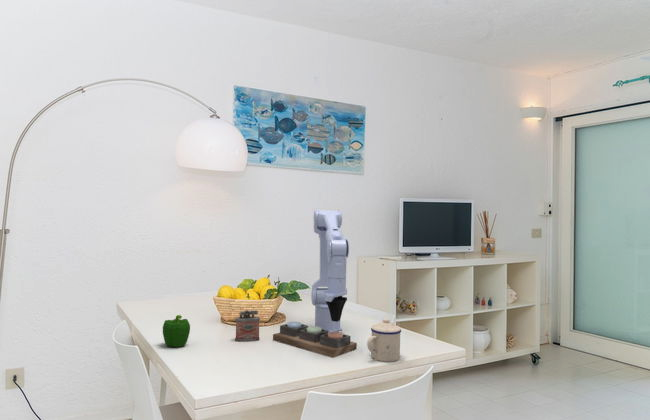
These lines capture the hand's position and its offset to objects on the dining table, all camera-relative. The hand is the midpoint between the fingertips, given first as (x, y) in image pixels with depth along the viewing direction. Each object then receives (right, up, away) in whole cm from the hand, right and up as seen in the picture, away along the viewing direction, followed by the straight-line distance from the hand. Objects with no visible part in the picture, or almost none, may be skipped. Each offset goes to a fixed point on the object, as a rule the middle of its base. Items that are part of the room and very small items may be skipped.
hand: (335, 320), depth 150 cm
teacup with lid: (+14, -10, -7) cm, 18 cm away
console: (-7, -9, +6) cm, 13 cm away
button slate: (-14, -5, +12) cm, 19 cm away
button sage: (-7, -6, +6) cm, 11 cm away
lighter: (-29, -9, +9) cm, 32 cm away
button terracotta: (0, -6, 0) cm, 6 cm away
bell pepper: (-51, -8, +1) cm, 51 cm away
